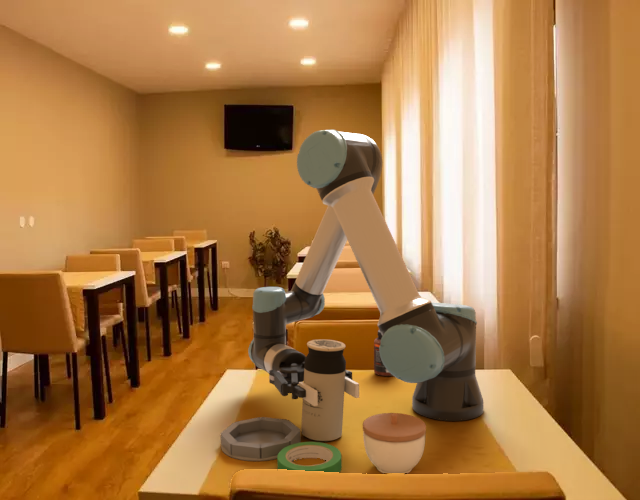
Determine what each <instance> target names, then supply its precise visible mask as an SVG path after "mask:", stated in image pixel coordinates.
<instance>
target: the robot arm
mask: <svg viewBox="0 0 640 500" xmlns="http://www.w3.org/2000/svg"><path fill="white" fill-rule="evenodd" d="M298 151H299V152H298V154H297V155H296V156H297V157H296V167H297V168H296V169H297V172H298V173H297V174H298V176H299V177H300V178H301V181H303V183H304V184H305V185H307V186H308V187H311V188H313V189H316V191H317V192H318V195H319V198H320V200H321V203H322V204H323V205H325V206H327V207H326V209H325V211H324V214H323V216H322V218H321V221H320V223H319V225H318V228H317V230H316V232H315V234H314V237H313V240H312V242H311V244H310V246H309V249H308V251H307V253H306V256H305V257H304V259H303V263H302V265H301V267H300V269H299V272H298V273H297V277H296V279H295V281H294V283H293V285H292V288H291V290H289V291H285V289H284V288H283V287H279V286H264V287H257V288H256V289H255V290H254V291H253V293H252V305H251V306H252V318H253V323H252V325H253V338H252V340H251V341H250V343H249V347H248V348H247V349H248V350H247V351H248V357H249V359H250V361H251V362H252V363H253V364H254V365H255V366H256V367H257V368H258V369H261V370H263V371H265V372H267V373H268V374H269V375H268V378H269V384H272V385H273V386H275V388H276V390H277V391H278V392H279V393H280V395H281V396H283V397H288V396H289V394H291V399H292V400H298V399H299V398H300V399H302V400H303V399H304V400H306V401H307V402H309V403H310V404H312V405H313V406H317V405H318V392H317V391H316V390H315V389H313V388H312V387H310V386H308V385H307V384H305V383H304V365H305V358H306V356H307V355H305V354H304V353H302V352H300V351H298V350H296V348H293V347H291V346H290V345H287V325H289V324H292V323H295V322H298V321H303V320H306V319H310V318H313V317H314V316H316V315H319V314H320V313H321V312H322V311H323V310H324V308H325V304H326V303H325V299H326V298H325V295H324V291H325V289H326V287H327V285H328V283H329V281H330V278H331V276H332V274H333V272H334V270H335V268H336V266H337V264H338V261H339V259H340V258H341V255H342V252H343V251H344V248H345V247H346V244H347V242H348V244H349V246H350V248H351V249H350V250H352V253H353V255H354V257H355V260H356V261H357V263H358V267H359V268H360V271H361V273H362V274H363V277H364V279H365V281H366V284H367V286H368V289H369V290H370V293H371V294H372V297H373V300H374V302H375V304H376V306H377V309H378V311H379V313H380V314H379V315H380V316H379V319H378V322H377V327H378V330H380V332H381V334H382V336H383V337H382V339H381V345H380V346H379V352H380V357H381V360H382V362H383V364H384V366H385V368H386V369H387V370H388V371H389V372H390V373H391V374H392V377H395V378H396V379H398V380H400V381H401V382H404V383H409V384H416V386H415V389H414V391H413V393H412V397H411V398H412V399H411V400H412V403H411V405H412V410H413V411H414V412H415V413H416V414H418V415H421V416H422V417H425V418H430V419H432V420H438V421H446V422H456V421H457V422H459V421H461V422H462V421H469V420H473V419H476V418H478V417H480V416H481V415H483V413H484V398H483V395H482V392H481V389H480V386H479V382H478V380H477V379H478V378H477V376H476V364H477V363H476V355H477V353H476V351H477V350H476V349H477V347H476V345H477V324H478V321H477V315H476V310H475V309H474V307H473V306H470V305H466V304H458V303H446V302H432V300H430V299H427V298H424V297H422V296H421V295H420V293H419V291H418V288H417V287H416V284H415V282H414V280H413V278H412V276H411V274H410V272H409V269H408V267H407V265H406V262H405V261H404V258H403V256H402V254H401V252H400V250H399V248H398V246H397V243H396V241H395V239H394V237H393V235H392V233H391V230H390V228H389V226H388V224H387V222H386V220H385V217H384V216H383V213H382V211H381V209H380V207H379V205H378V202H377V201H376V198H375V196H374V194H375V192H376V189H377V187H378V185H379V182H380V178H381V176H382V171H383V156H382V155H383V154H382V152H381V150H380V148H379V146H378V145H377V142H375V141H374V139H373V138H370V137H369V136H367V135H365V134H361V133H357V132H356V133H355V132H353V133H352V132H344V131H339V130H336V129H323V130H322V129H321V130H316V131H314V132H312V133H311V134H309V135H307V137H306V138H305V139H304V140H303V141H302V143H301V145H300V147H299V150H298ZM344 393H345V394H348V395H349V396H351V397H353V398H354V399H358V398H360V382H359V383H358V382H356V381H355V380H353V371H351V370H348V369H346V370H345V388H344Z"/></svg>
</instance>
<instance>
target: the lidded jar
mask: <svg viewBox="0 0 640 500" xmlns="http://www.w3.org/2000/svg"><path fill="white" fill-rule="evenodd" d="M426 430H427V425H426V423H425V422H424V421H423V419H420V418H419V417H417V416H414V415H412V414H411V415H410V414H407V413H406V414H405V413H401V412H400V413H399V412H385V413H377V414H374V415H373V414H372V415H371V416H369V417H367V418H366V419H364V420H363V422H362V431H363V435H362V436H363V444H364V445H363V446H364V449H365V453H366V455H367V458H368V460H369V461H370V462H371V463H372V465H374V467H376V470H377V471H379V472H380V473H382V474H384V473H407V474H409V473H410V472H411V471H412V470H413V469H414V467H416V465H418V463H419V462H420V461H421V458H422V457H423V454H424V451H425V445H426V433H427V432H426Z"/></svg>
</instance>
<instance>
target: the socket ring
mask: <svg viewBox="0 0 640 500" xmlns="http://www.w3.org/2000/svg"><path fill="white" fill-rule="evenodd" d="M301 435H302V433H301V428H300V427H298V426H297V425H296V424H294V423H293V422H291V421H290V420H289V419H286V418H285V419H283V418H276V417H275V418H272V417H267V416H261V417H260V416H259V417H258V416H257V417H254V418H248V419H243V420H240V421H234V422H232V423H231V424H229V426H227V427H226V428H225V429H224V430H223V431H221V432H220V450H221V451H222V452H223V454H225V455H226V456H228V457H230V458H232V459H235V460H240V461H247V462H264V461H265V462H268V461H273V460H277V456H278V453H279V452H280V451H281V450H282V449H283V448H285V447H287V446H289V445H292V444H296V443H301V440H302V439H301V437H302V436H301Z"/></svg>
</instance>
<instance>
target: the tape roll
mask: <svg viewBox="0 0 640 500" xmlns="http://www.w3.org/2000/svg"><path fill="white" fill-rule="evenodd" d="M302 458H304V459H317V458H320V459H319V460H322V459H323V460H322V461H324V462H322V463H316V464H312V465H303V464H298V463H295V461H294V460H296V461H298V460H297V459H299V460H303V459H302ZM276 460H277V463H276V464H277V470H278V469H287V470H305V471H324V472H340V473H341V471H342V469H343V468H342V460H343V459H342V452H341V451H340V449H339V448H337V447H335V446H334V445H332V444H328V443H324V442H322V441H304V442H301V443H296V444H292V445H289V446H287V447H285V448H283V449H282V450H281V451H280V452H279V453H278V456H277V459H276ZM325 460H326V461H325ZM293 461H294V462H293ZM341 468H342V469H341Z"/></svg>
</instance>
